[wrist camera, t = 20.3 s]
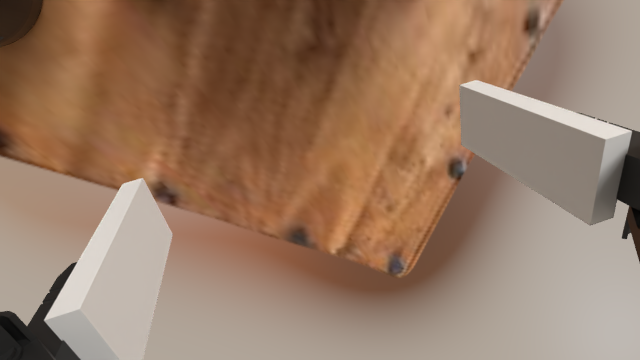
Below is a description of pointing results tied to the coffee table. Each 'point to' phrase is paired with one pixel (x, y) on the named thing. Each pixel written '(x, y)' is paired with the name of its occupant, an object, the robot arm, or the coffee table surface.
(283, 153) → the coffee table surface
